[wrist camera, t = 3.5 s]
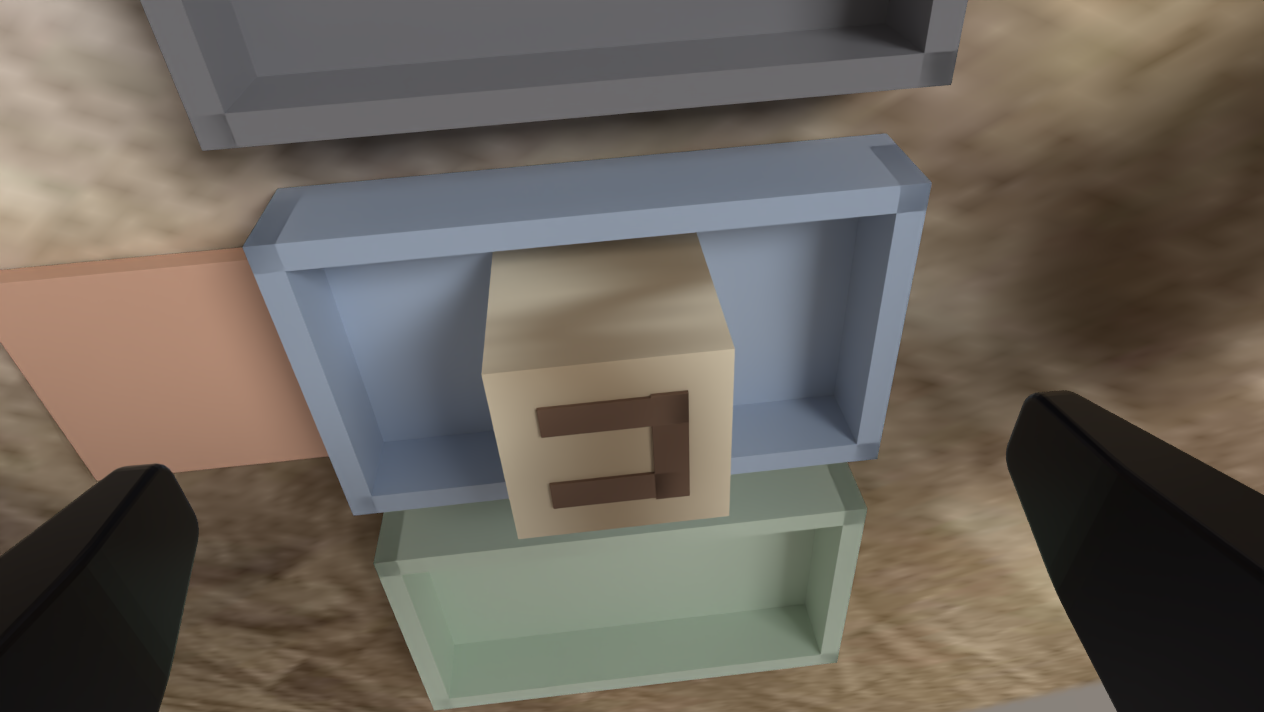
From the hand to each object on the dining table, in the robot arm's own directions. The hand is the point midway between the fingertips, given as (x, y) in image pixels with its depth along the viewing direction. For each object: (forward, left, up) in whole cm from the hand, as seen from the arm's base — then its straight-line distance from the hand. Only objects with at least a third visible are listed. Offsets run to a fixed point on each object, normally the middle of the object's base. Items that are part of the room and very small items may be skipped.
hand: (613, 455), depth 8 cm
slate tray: (0, +5, -10) cm, 11 cm away
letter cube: (0, +5, -9) cm, 11 cm away
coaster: (+10, +5, -10) cm, 15 cm away
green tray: (0, +14, -10) cm, 17 cm away
